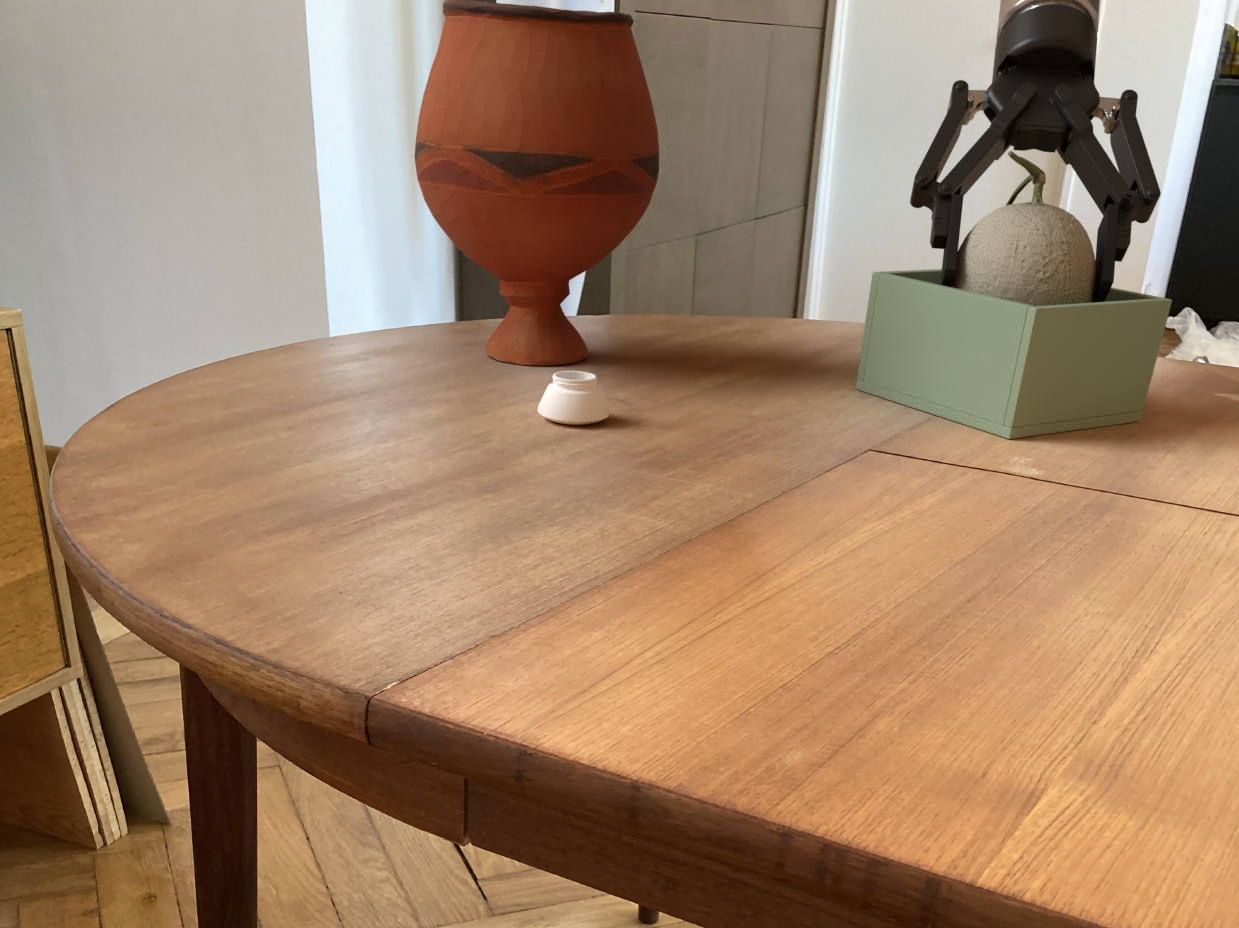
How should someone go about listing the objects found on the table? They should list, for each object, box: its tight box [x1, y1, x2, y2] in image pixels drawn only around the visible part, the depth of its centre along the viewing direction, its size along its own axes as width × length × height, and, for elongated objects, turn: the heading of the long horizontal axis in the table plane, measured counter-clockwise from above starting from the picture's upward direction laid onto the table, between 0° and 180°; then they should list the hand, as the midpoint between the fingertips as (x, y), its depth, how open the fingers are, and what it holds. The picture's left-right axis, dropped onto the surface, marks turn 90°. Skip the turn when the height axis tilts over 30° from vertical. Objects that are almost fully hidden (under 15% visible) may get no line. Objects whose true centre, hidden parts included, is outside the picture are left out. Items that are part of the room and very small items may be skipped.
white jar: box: [537, 370, 610, 426], centre depth 88 cm, size 5×3×5 cm
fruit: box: [952, 150, 1096, 306], centre depth 93 cm, size 10×12×15 cm
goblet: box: [414, 0, 660, 367], centre depth 100 cm, size 19×19×25 cm
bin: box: [855, 268, 1173, 440], centre depth 97 cm, size 17×15×9 cm
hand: (1024, 288), depth 92 cm, fingers closed on fruit, 10 cm apart
